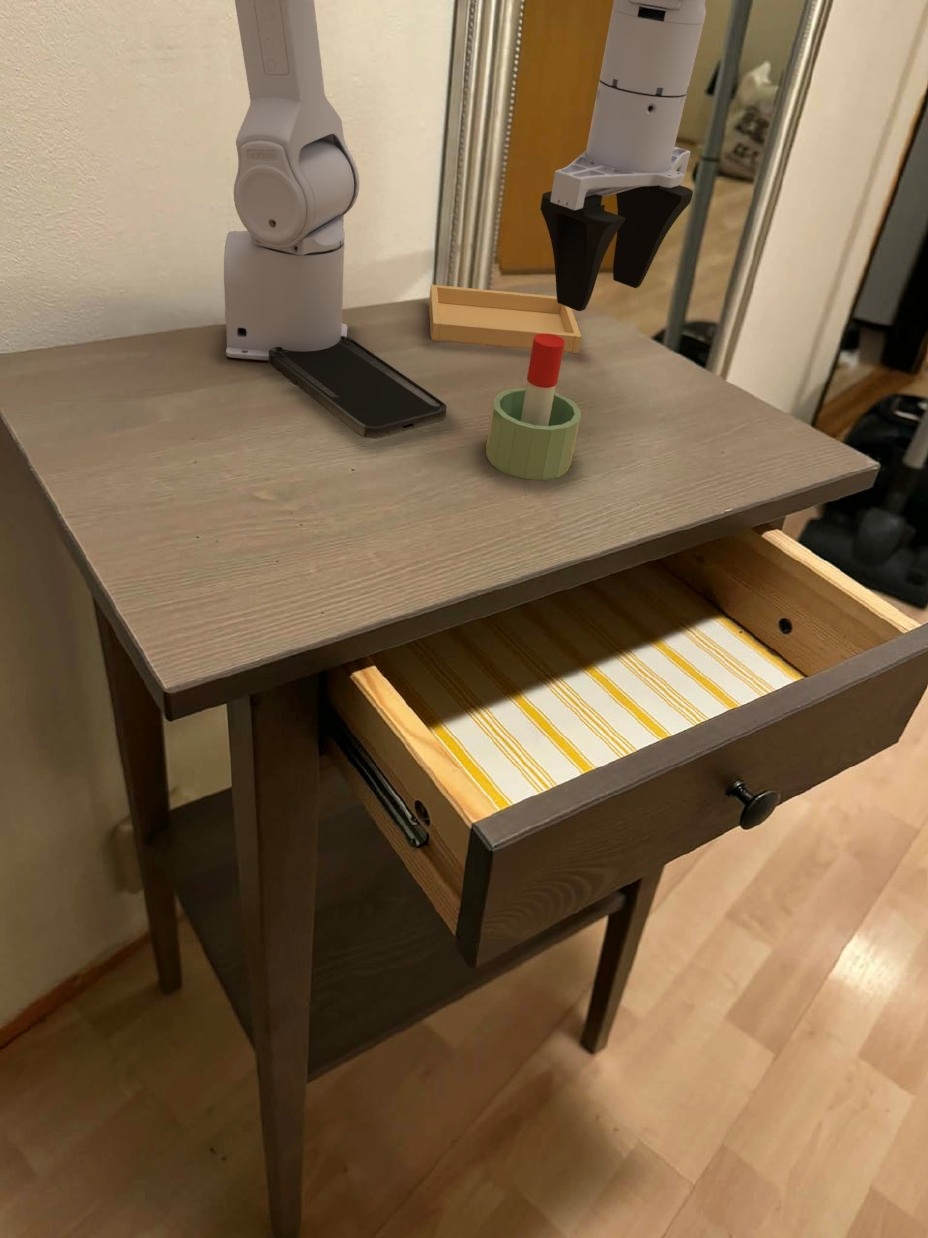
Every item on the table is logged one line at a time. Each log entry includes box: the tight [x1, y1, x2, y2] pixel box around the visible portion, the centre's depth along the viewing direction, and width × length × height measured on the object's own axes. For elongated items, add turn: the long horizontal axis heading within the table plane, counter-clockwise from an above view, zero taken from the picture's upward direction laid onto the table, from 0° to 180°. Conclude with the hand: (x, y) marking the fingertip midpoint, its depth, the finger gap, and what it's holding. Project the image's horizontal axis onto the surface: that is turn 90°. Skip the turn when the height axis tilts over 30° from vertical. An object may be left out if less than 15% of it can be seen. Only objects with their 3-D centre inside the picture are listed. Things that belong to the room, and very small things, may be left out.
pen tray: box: [428, 284, 582, 354], centre depth 87 cm, size 13×9×2 cm
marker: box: [521, 333, 565, 426], centre depth 66 cm, size 2×2×9 cm
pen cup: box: [485, 386, 582, 481], centre depth 68 cm, size 6×6×4 cm
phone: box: [268, 336, 447, 439], centre depth 74 cm, size 8×1×15 cm
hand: (599, 294), depth 69 cm, fingers open, 7 cm apart
